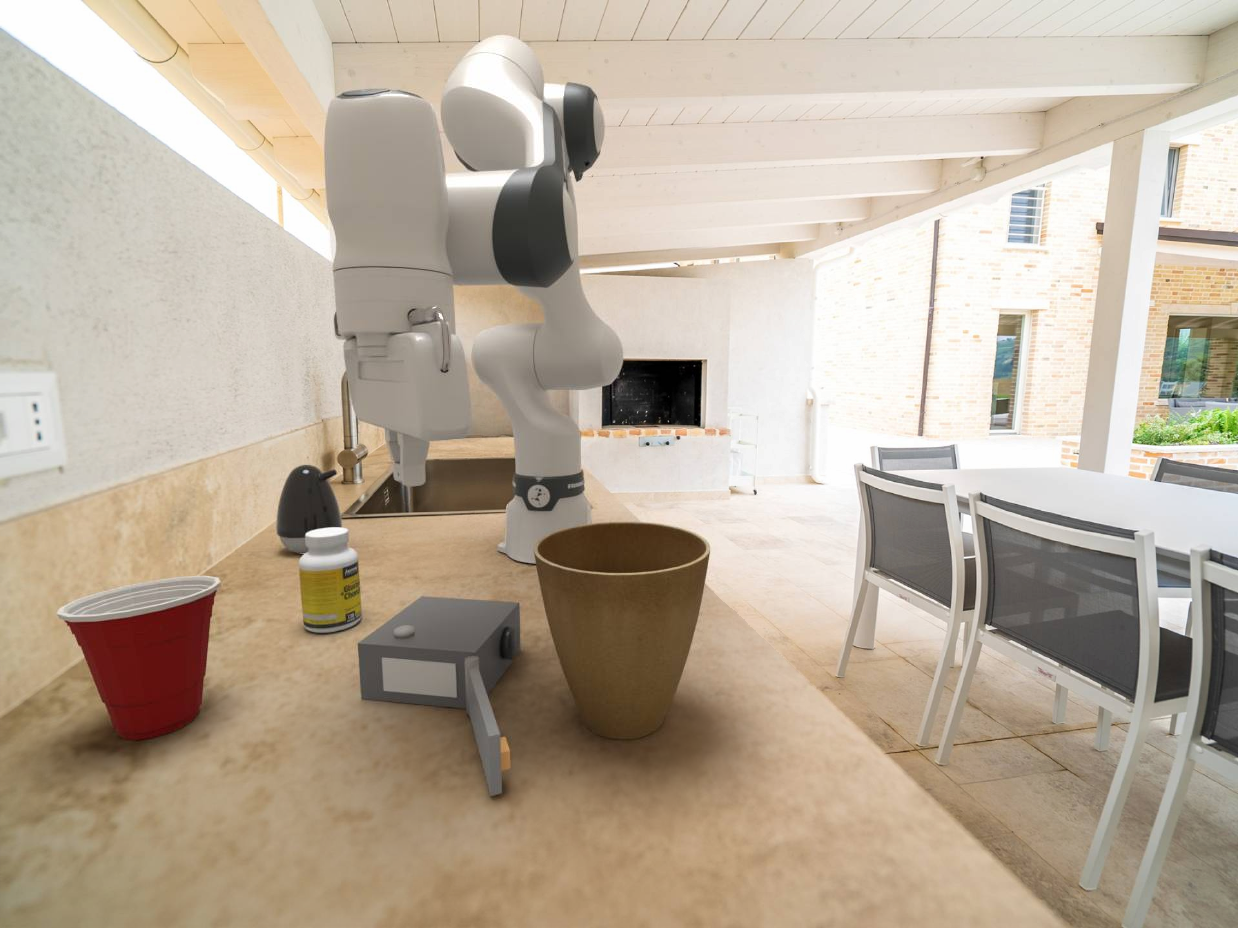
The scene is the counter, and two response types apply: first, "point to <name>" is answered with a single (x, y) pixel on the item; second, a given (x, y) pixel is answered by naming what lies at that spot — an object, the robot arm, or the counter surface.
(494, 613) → the box
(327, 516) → the pump dispenser
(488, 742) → the side door
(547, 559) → the plant pot
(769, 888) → the counter surface
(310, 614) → the pill bottle
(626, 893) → the counter surface
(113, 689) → the plastic cup
